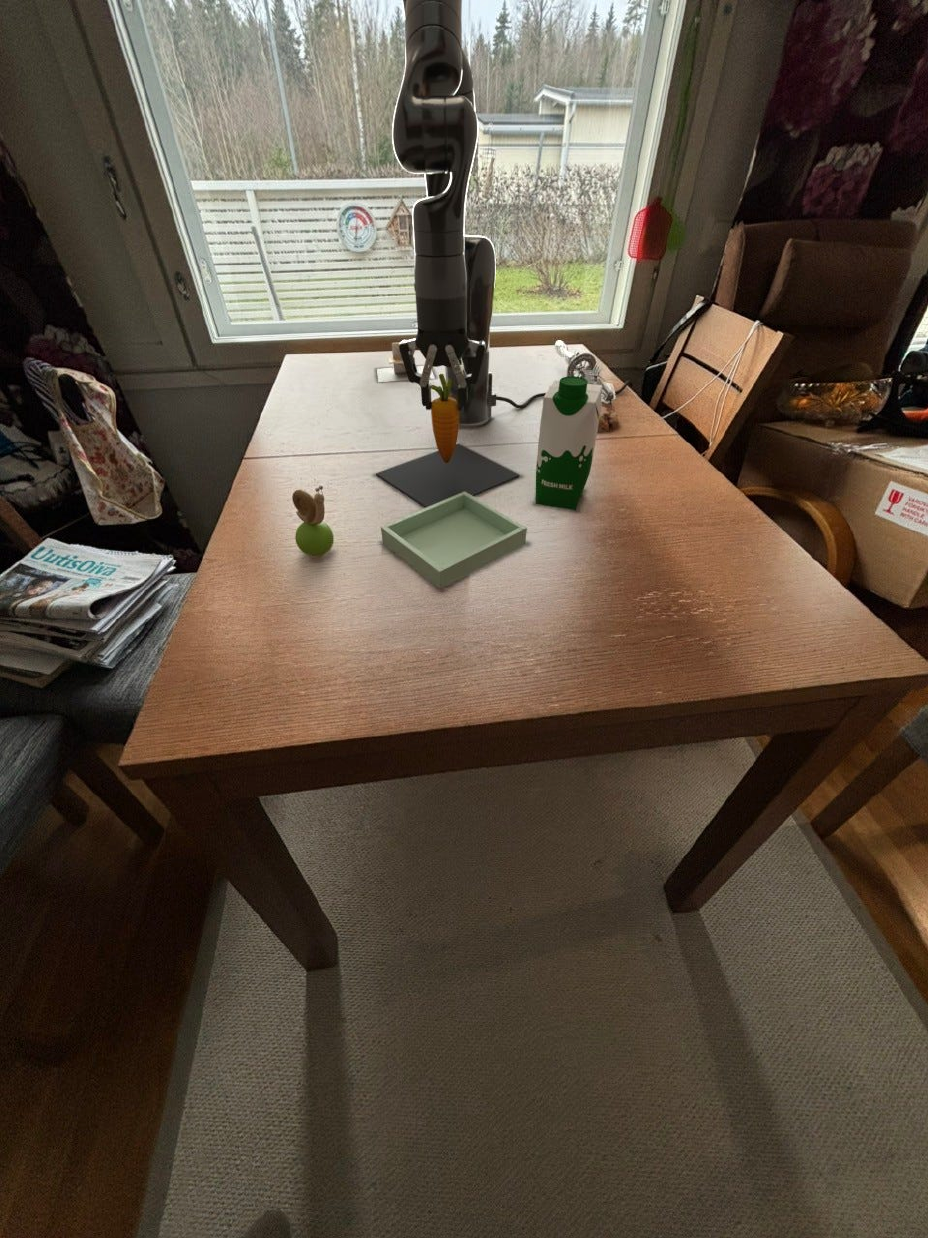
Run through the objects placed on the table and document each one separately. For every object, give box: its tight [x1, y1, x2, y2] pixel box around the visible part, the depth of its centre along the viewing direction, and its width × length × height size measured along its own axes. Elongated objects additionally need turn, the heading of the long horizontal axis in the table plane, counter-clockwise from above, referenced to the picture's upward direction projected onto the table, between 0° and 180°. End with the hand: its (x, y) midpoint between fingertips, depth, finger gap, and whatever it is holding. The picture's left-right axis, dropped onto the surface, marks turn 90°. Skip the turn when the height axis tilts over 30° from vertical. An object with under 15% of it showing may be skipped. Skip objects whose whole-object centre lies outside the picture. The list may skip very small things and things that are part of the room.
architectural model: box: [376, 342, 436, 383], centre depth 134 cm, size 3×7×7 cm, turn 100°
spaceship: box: [554, 339, 617, 406], centre depth 126 cm, size 8×35×8 cm
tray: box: [380, 492, 528, 590], centre depth 77 cm, size 17×15×3 cm
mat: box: [375, 443, 520, 508], centre depth 94 cm, size 20×18×1 cm
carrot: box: [430, 373, 460, 463], centre depth 87 cm, size 5×5×15 cm
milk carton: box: [535, 375, 602, 511], centre depth 81 cm, size 9×9×20 cm
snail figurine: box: [291, 485, 335, 557], centre depth 72 cm, size 5×6×12 cm
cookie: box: [598, 405, 619, 432], centre depth 110 cm, size 10×11×3 cm
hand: (444, 408), depth 85 cm, fingers closed on carrot, 5 cm apart
